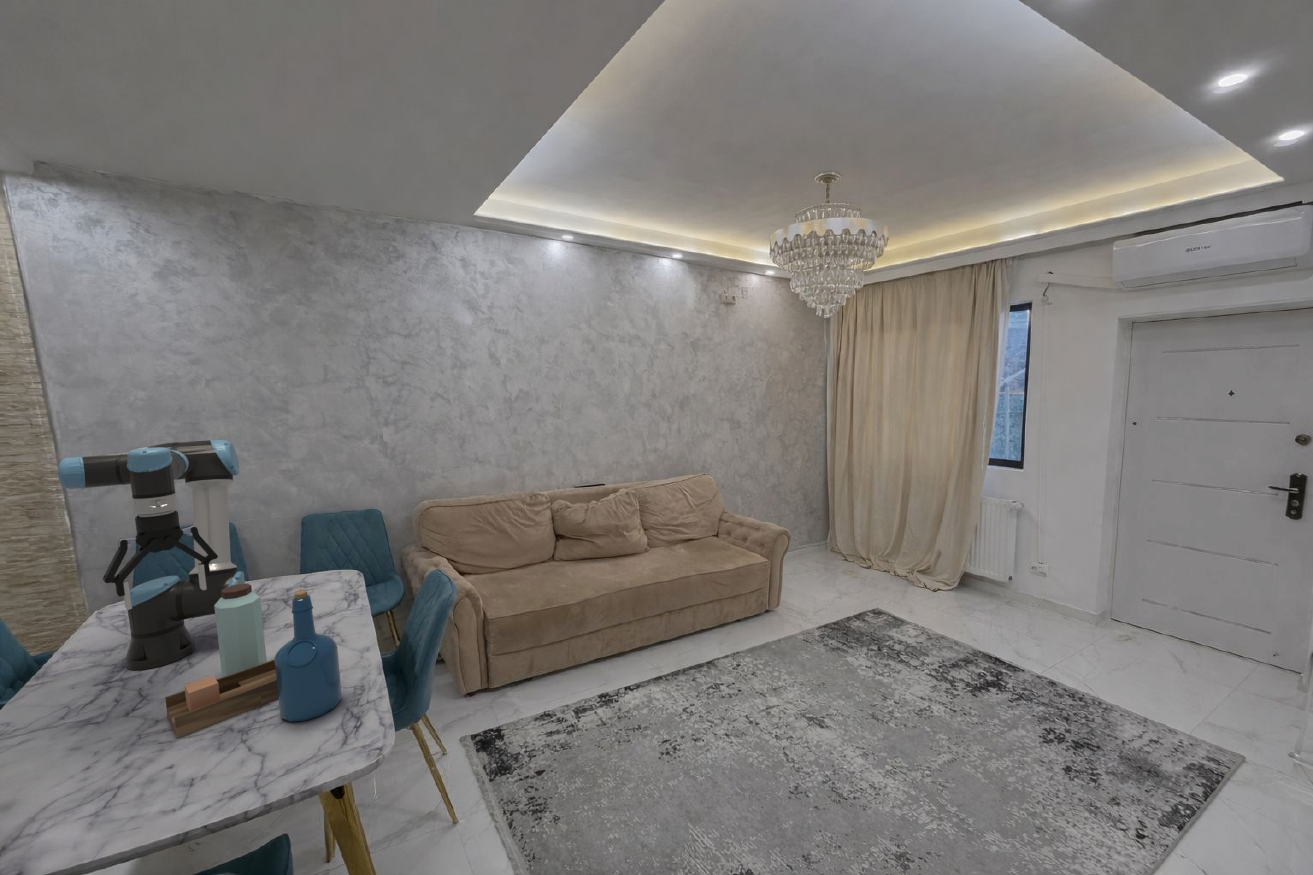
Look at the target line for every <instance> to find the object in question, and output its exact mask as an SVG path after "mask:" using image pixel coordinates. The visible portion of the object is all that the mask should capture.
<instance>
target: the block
mask: <svg viewBox="0 0 1313 875" xmlns="http://www.w3.org/2000/svg"><path fill="white" fill-rule="evenodd" d="M216 679H217V678H216V677H215V676H214V675H210V676H206V677H203V678H201V679H198V680H195V681H192V682H190V683H186V684H184V685H183V686H184V687H183V688H184V690H185V695H186V703H187V708H188V709H189V711H191V710H194V709H197V708H200V707H202V706H205V705H208V704H210V703H213V702H216V701H218V700H220V693H219V684H218V682H217V680H216Z"/></svg>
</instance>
